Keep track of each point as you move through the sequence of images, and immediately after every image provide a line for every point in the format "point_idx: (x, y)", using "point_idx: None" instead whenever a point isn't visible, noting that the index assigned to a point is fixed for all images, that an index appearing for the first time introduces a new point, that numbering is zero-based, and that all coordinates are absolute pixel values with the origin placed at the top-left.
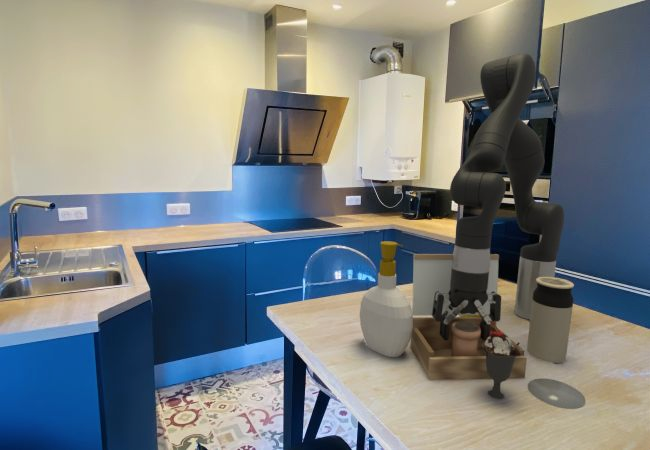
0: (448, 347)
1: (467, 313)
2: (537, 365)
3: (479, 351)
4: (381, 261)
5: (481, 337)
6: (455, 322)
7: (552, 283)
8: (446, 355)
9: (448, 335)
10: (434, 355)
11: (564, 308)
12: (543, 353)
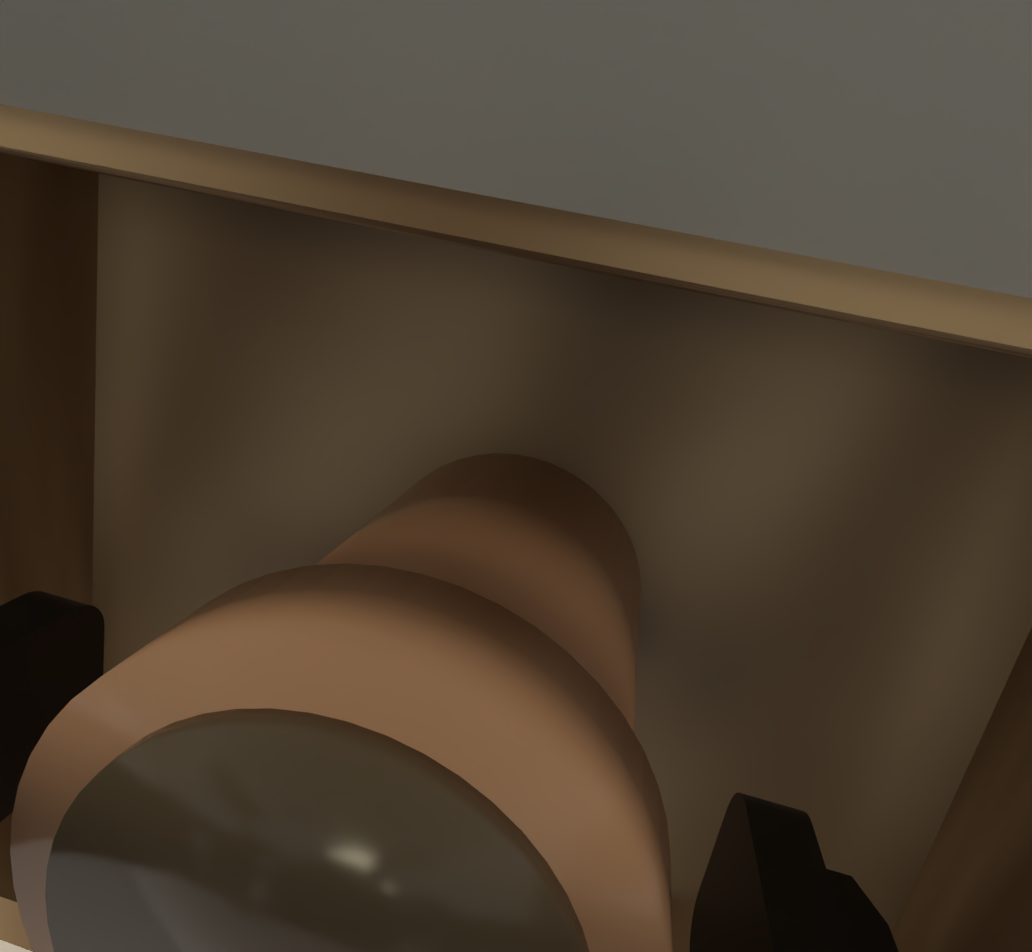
0: (503, 253)
1: (992, 266)
2: None
3: (887, 430)
4: None
5: (713, 870)
6: (190, 645)
7: None
8: (390, 412)
9: (12, 807)
10: (253, 380)
11: None
12: None
